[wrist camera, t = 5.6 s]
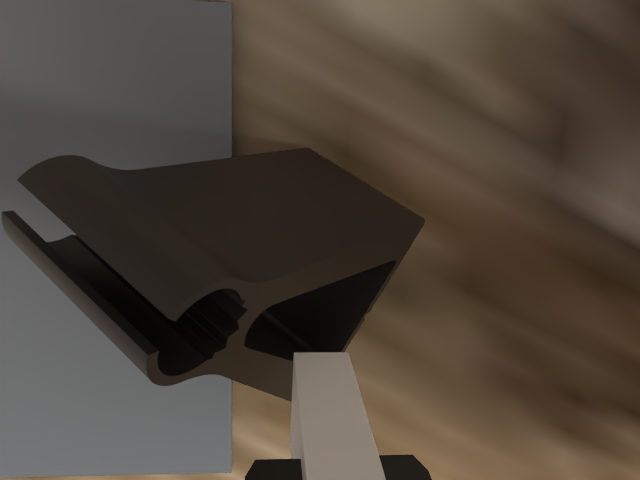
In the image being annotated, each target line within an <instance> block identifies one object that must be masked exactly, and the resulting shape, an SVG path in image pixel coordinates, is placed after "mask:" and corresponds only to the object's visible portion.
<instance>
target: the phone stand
mask: <svg viewBox="0 0 640 480" xmlns="http://www.w3.org/2000/svg"><path fill="white" fill-rule="evenodd" d="M17 181H18V182H20V183H21V184H22V185H23V186H24V187H25V188H26V189H27V190H28V191H29V192H30V193H32V194H33V195H34V196H35V197H36V198H37V199H38V200H39V201H40V202H41V203H42V204H44V205H45V206H46V207H47V208H48V209H49V210H50V211H51V212H52V213H53V214H54V215H56V216H57V217H58V218H59V219H60V220H61V221H62V222H63V223H64V224H65V225H67V226H68V227H69V228H70V229H71V230H72V231H73V232H74V233H75V234H76V235H69V236H67V237H65V238H63V239H60V240H56V241H52V242H46V241H45V240H44V239H43V238H41V237H40V236H39V235H38V234H37V233H36V232H35V231H34V230H33V229H32V228H31V227H30V226H29V225H28V224H27V223H26V222H25V221H24V220H23V219H22V218H21V217H20V216H19V215H18V214H17V213H16V212H14V211H13V210H11V211H3V212H2V214H1V218H2V225H3V228H4V231H5V233H6V234H7V236H8V237H9V238H10V239H11V240H12V241H13V242H14V243H15V244H16V246H17V247H18V248H19V249H20V250H21V251H22V252H23V253H24V254H25V255H26V256H27V257H28V258H29V259H30V260H31V261H32V262H33V263H34V264H35V265H36V266H37V267H38V268H39V269H40V270H41V271H42V272H43V273H44V274H45V275H46V276H47V277H48V278H49V279H50V280H51V281H52V282H53V283H54V284H55V285H56V286H57V287H58V288H59V289H60V290H61V291H62V292H63V293H64V294H65V295H66V296H67V297H68V298H69V299H70V300H71V301H72V302H73V303H74V304H75V305H76V306H77V307H78V308H79V309H80V310H81V311H82V312H83V313H84V314H85V315H86V316H87V317H88V318H89V319H90V320H91V321H92V322H93V323H94V324H95V325H96V326H97V327H98V328H99V329H100V330H101V331H102V332H103V333H104V334H105V335H106V336H107V337H108V338H109V339H110V340H111V341H112V342H113V343H114V344H115V345H116V346H117V347H118V348H119V349H120V350H121V351H122V352H123V353H124V354H125V355H126V356H127V357H128V358H129V359H130V360H131V362H132V363H133V364H134V365H135V366H136V367H137V368H138V369H139V370H140V371H141V372H142V373H143V374H144V375H145V376H146V377H147V378H148V379H149V380H150V381H151V382H152V383H154V384H156V385H159V386H171V385H175V384H178V383H181V382H183V381H186V380H188V379H191V378H194V377H198V376H203V375H220V376H223V377H226V378H229V379H231V380H234V381H237V382H240V383H242V384H245V385H248V386H250V387H253V388H256V389H258V390H261V391H264V392H267V393H269V394H272V395H275V396H277V397H280V398H283V399H285V400H288V401H291V402H292V383H293V358H294V353H307V352H344V351H345V350H346V348H347V347H348V345H349V343H350V342H351V340H352V339H353V337H354V335H355V334H356V332H357V331H358V329H359V327H360V326H361V324H362V323H363V321H364V317H365V315H366V314H367V313H368V312H369V311H370V310H371V308H372V307H373V305H374V303H375V302H376V300H377V299H378V297H379V295H380V294H381V292H382V291H383V289H384V287H385V286H386V284H387V283H388V281H389V279H390V278H391V276H392V275H393V273H394V271H395V270H396V268H397V267H398V265H399V263H400V262H401V260H402V259H403V257H404V255H405V254H406V252H407V251H408V249H409V247H410V246H411V244H412V243H413V241H414V239H415V238H416V236H417V235H418V233H419V232H420V230H421V228H422V227H423V225H424V222H425V219H424V218H422V217H420V216H419V215H417V214H415V213H414V212H412V211H411V210H409V209H407V208H406V207H404V206H402V205H401V204H399V203H398V202H396V201H394V200H393V199H391V198H389V197H388V196H386V195H385V194H383V193H381V192H380V191H378V190H376V189H375V188H373V187H371V186H370V185H368V184H367V183H365V182H363V181H362V180H360V179H358V178H357V177H355V176H354V175H352V174H350V173H349V172H347V171H345V170H344V169H342V168H341V167H339V166H337V165H336V164H334V163H332V162H331V161H329V160H328V159H326V158H324V157H323V156H321V155H319V154H318V153H316V152H314V151H313V150H311V149H310V148H302V149H294V150H287V151H279V152H271V153H263V154H255V155H247V156H239V157H231V158H223V159H216V160H208V161H200V162H192V163H184V164H176V165H168V166H160V167H152V168H145V169H136V170H121V169H114V168H110V167H106V166H103V165H101V164H98V163H96V162H94V161H92V160H90V159H88V158H85V157H82V156H77V155H62V156H56V157H53V158H49V159H47V160H44V161H42V162H40V163H38V164H36V165H34V166H33V167H31V168H30V169H28V170H27V171H26V172H25V173H23V174H22V175H21V176H20V177H19V178H18V179H17Z"/></svg>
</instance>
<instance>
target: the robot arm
mask: <svg viewBox="0 0 640 480" xmlns="http://www.w3.org/2000/svg"><path fill="white" fill-rule="evenodd" d="M290 442H291V456H292V459H269V460H255V461H254V463H253V465H252V466H251V468H250V470H249V471H248V473H247V475H246V476H245V480H432V479H431V477H430V474H429V472H428V470H427V469H426V468H425V467H424V466H423V465H422V464H421V463H420V462H419V461H418V460H417V459H416V458H415V457H414V456H413V455H379V454H378V451H377V448H376V444H375V441H374V437H373V434H372V431H371V427H370V424H369V420H368V417H367V414H366V410H365V407H364V403H363V400H362V397H361V393H360V390H359V386H358V383H357V380H356V376H355V373H354V369H353V366H352V363H351V359H350V356H349V352H307V353H294V358H293V383H292V407H291V431H290Z"/></svg>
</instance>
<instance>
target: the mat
mask: <svg viewBox="0 0 640 480" xmlns="http://www.w3.org/2000/svg"><path fill="white" fill-rule="evenodd" d="M62 155H77V156H82V157H85V158H88V159H90V160H92V161H94V162H96V163H98V164H101V165H103V166H106V167H110V168H114V169H121V170H136V169H145V168H152V167H160V166H168V165H176V164H184V163H192V162H200V161H208V160H216V159H223V158H231V157H232V3H229V2H213V1H196V0H0V478H13V477H59V476H106V475H152V474H199V473H231V471H232V380H231V379H229V378H226V377H223V376H220V375H203V376H198V377H194V378H191V379H188V380H186V381H183V382H181V383H178V384H175V385H171V386H159V385H156V384H154V383H152V382H151V381H150V380H149V379H148V378H147V377H146V376H145V375H144V374H143V373H142V372H141V371H140V370H139V369H138V368H137V367H136V366H135V365H134V364H133V363H132V362H131V360H130V359H129V358H128V357H127V356H126V355H125V354H124V353H123V352H122V351H121V350H120V349H119V348H118V347H117V346H116V345H115V344H114V343H113V342H112V341H111V340H110V339H109V338H108V337H107V336H106V335H105V334H104V333H103V332H102V331H101V330H100V329H99V328H98V327H97V326H96V325H95V324H94V323H93V322H92V321H91V320H90V319H89V318H88V317H87V316H86V315H85V314H84V313H83V312H82V311H81V310H80V309H79V308H78V307H77V306H76V305H75V304H74V303H73V302H72V301H71V300H70V299H69V298H68V297H67V296H66V295H65V294H64V293H63V292H62V291H61V290H60V289H59V288H58V287H57V286H56V285H55V284H54V283H53V282H52V281H51V280H50V279H49V278H48V277H47V276H46V275H45V274H44V273H43V272H42V271H41V270H40V269H39V268H38V267H37V266H36V265H35V264H34V263H33V262H32V261H31V260H30V259H29V258H28V257H27V256H26V255H25V254H24V253H23V252H22V251H21V250H20V249H19V248H18V247H17V246H16V244H15V243H14V242H13V241H12V240H11V239H10V238H9V237H8V236H7V234H6V233H5V231H4V228H3V225H2V218H1V214H2V212H3V211H11V210H13V211H14V212H16V213H17V214H18V215H19V216H20V217H21V218H22V219H23V220H24V221H25V222H26V223H27V224H28V225H29V226H30V227H31V228H32V229H33V230H34V231H35V232H36V233H37V234H38V235H39V236H40V237H41V238H43V239H44V240H45V241H46V242H52V241H56V240H60V239H63V238H65V237H67V236H69V235H76V234H75V233H74V232H73V231H72V230H71V229H70V228H69V227H68V226H67V225H65V224H64V223H63V222H62V221H61V220H60V219H59V218H58V217H57V216H56V215H54V214H53V213H52V212H51V211H50V210H49V209H48V208H47V207H46V206H45V205H44V204H42V203H41V202H40V201H39V200H38V199H37V198H36V197H35V196H34V195H33V194H32V193H30V192H29V191H28V190H27V189H26V188H25V187H24V186H23V185H22V184H21V183H20V182H18V181H17V179H18V178H19V177H20V176H21V175H22V174H23V173H25V172H26V171H27V170H28V169H30V168H31V167H33V166H34V165H36V164H38V163H40V162H42V161H44V160H47V159H49V158H53V157H56V156H62Z"/></svg>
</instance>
